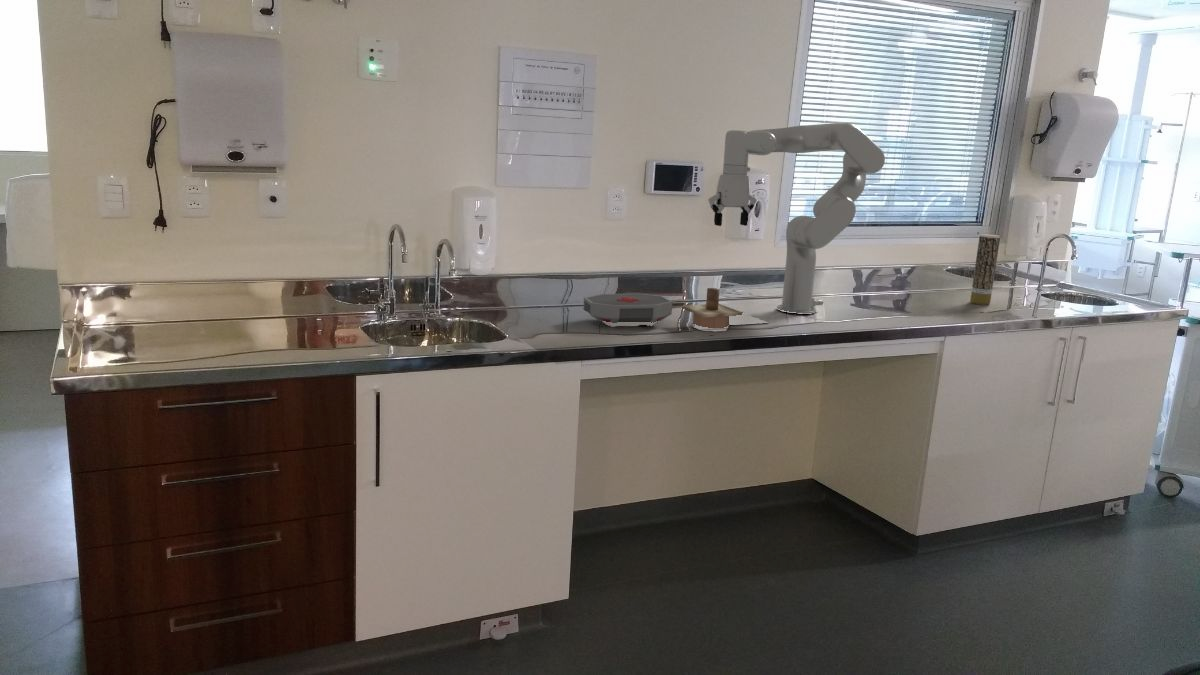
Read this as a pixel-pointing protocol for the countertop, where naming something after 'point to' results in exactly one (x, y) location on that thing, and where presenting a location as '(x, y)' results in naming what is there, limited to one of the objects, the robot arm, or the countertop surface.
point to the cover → (712, 306)
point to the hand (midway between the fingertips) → (730, 225)
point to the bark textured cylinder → (985, 269)
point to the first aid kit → (628, 307)
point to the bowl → (711, 321)
